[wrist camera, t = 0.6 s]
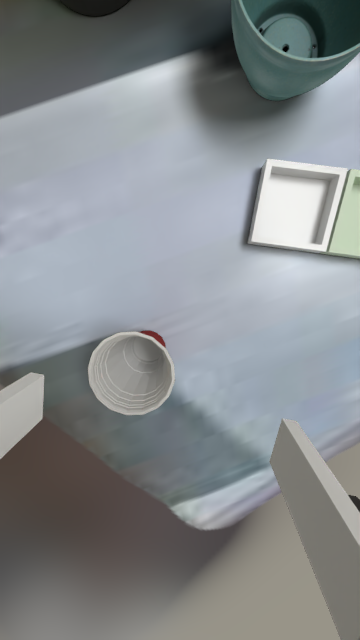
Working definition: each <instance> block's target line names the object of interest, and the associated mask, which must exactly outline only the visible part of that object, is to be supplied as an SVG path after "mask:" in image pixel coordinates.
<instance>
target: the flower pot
mask: <svg viewBox="0 0 360 640" xmlns="http://www.w3.org/2000/svg"><path fill="white" fill-rule="evenodd" d="M231 18H232V30H233V37H234V43H235V47H236V51H237V55H238V58H239V61H240V63H241V65H242V68H243V70H244V72H245V73H246V76H247V79H248V81H249V83H250V85H251V87H252V88H253V89H254V90H255V92H256V93H258V94H259V95H260V96H262V97H263V98H266V99H269V100H273V101H280V100H285V99H288V98H291V97H293V96H296V95H300V94H303V93H305V92H308V91H310V90H312V89H314V88H316V87H318V86H320V85H321V84H323V83H325V82H326V81H328V80H329V79H330V78H332V77H333V76H334V75H336V74H337V73H338V72H339V71H341V70H342V69H343V68H344V67H345V66H346V65H347V64H348V63H349V62H350V61H351V60H352V59H353V58H354V57H355V56H356V55H357V54H358V53H359V52H360V0H231ZM260 29H261V30H262V32H261V33H260V32H259V30H260ZM284 46H287V47H288V51H287V52H284V51H283V50H282V49H283V47H284ZM313 46H315V48H314V49H313Z"/></svg>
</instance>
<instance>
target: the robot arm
mask: <svg viewBox="0 0 360 640" xmlns="http://www.w3.org/2000/svg"><path fill="white" fill-rule="evenodd" d="M60 1H61V2H62V3H63V4H65V5H66V6H67V7H69V8H70V9H72V10H74V11H76V12H78V13H81V14H85V15H91V16H98V15H104V14H108V13H111V12H113V11H115V10H117V9H119V8H120V7H122V6H123V5H124V4H126V3H127V2H128V1H129V0H60ZM43 392H44V375H42V374H37V373H29V374H27V375H26V376H24V377H22V378H21V379H19V380H17V381H16V382H14V383H12V384H11V385H9V386H7V387H6V388H4V389H2V390H1V391H0V459H1V458H2V457H3V456H4V455H5V454H6V453H7V452H8V451H9V450H10V449H11V448H12V447H13V446H14V445H15V444H16V443H18V442H19V440H21V439H22V438H23V436H25V435H26V434H27V433H28V432H29V431H30V430H31V429H32V428H33V427H34V426H35V425H36V424H37V423H38V422H40V420H42V417H43ZM270 464H271V466H272V469H273V471H274V474H275V476H276V479H277V481H278V484H279V486H280V489H281V491H282V494H283V496H284V499H285V501H286V504H287V506H288V509H289V511H290V514H291V516H292V519H293V521H294V524H295V526H296V529H297V531H298V534H299V536H300V539H301V541H302V544H303V546H304V549H305V551H306V554H307V556H308V559H309V561H310V564H311V566H312V569H313V571H314V574H315V576H316V579H317V581H318V584H319V586H320V589H321V591H322V594H323V596H324V599H325V601H326V604H327V606H328V609H329V611H330V614H331V616H332V619H333V621H334V624H335V626H336V629H337V631H338V634H339V636H340V639H341V640H360V500H359V499H358V498H357V497H356V496H351V495H347V493H346V492H345V490H344V489H343V488H342V486H341V485H340V483H339V482H338V480H337V479H336V477H335V476H334V475H333V473H332V472H331V470H330V469H329V467H328V466H327V464H326V463H325V462H324V460H323V459H322V457H321V456H320V454H319V453H318V451H317V450H316V449H315V447H314V446H313V444H312V443H311V441H310V440H309V438H308V437H307V436H306V434H305V433H304V431H303V430H302V428H301V427H300V425H299V424H298V423H297V421H293V420H288V419H282V421H281V424H280V428H279V431H278V434H277V438H276V441H275V445H274V448H273V452H272V455H271V458H270Z"/></svg>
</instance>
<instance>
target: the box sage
mask: <svg viewBox="0 0 360 640" xmlns="http://www.w3.org/2000/svg"><path fill="white" fill-rule="evenodd" d="M319 254H327V255H334V256H341V257H348V258H356V259H360V170H354V169H350V170H349V171H347V174H346V178H345V182H344V185H343V189H342V193H341V197H340V200H339V204H338V208H337V212H336V216H335V219H334V223H333V227H332V231H331V234H330V238H329V242H328V246H327V250H326V252H320V253H319Z"/></svg>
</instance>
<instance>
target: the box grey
mask: <svg viewBox="0 0 360 640" xmlns="http://www.w3.org/2000/svg"><path fill="white" fill-rule="evenodd" d="M347 170H348V169H346V168H338V167H330V166H322V165H314V164H306V163H298V162H290V161H282V160H274V159H267V160H266V162H265V163H264V165H263V166H262V170H261V175H260V180H259V185H258V190H257V196H256V201H255V206H254V211H253V216H252V222H251V227H250V232H249V237H248V242H247V244H254V245H261V246H269V247H276V248H283V249H290V250H298V251H305V252H312V253H320V252H326V250H327V246H328V242H329V238H330V234H331V231H332V227H333V223H334V219H335V216H336V212H337V208H338V204H339V200H340V197H341V193H342V189H343V185H344V182H345V178H346V174H347Z"/></svg>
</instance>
